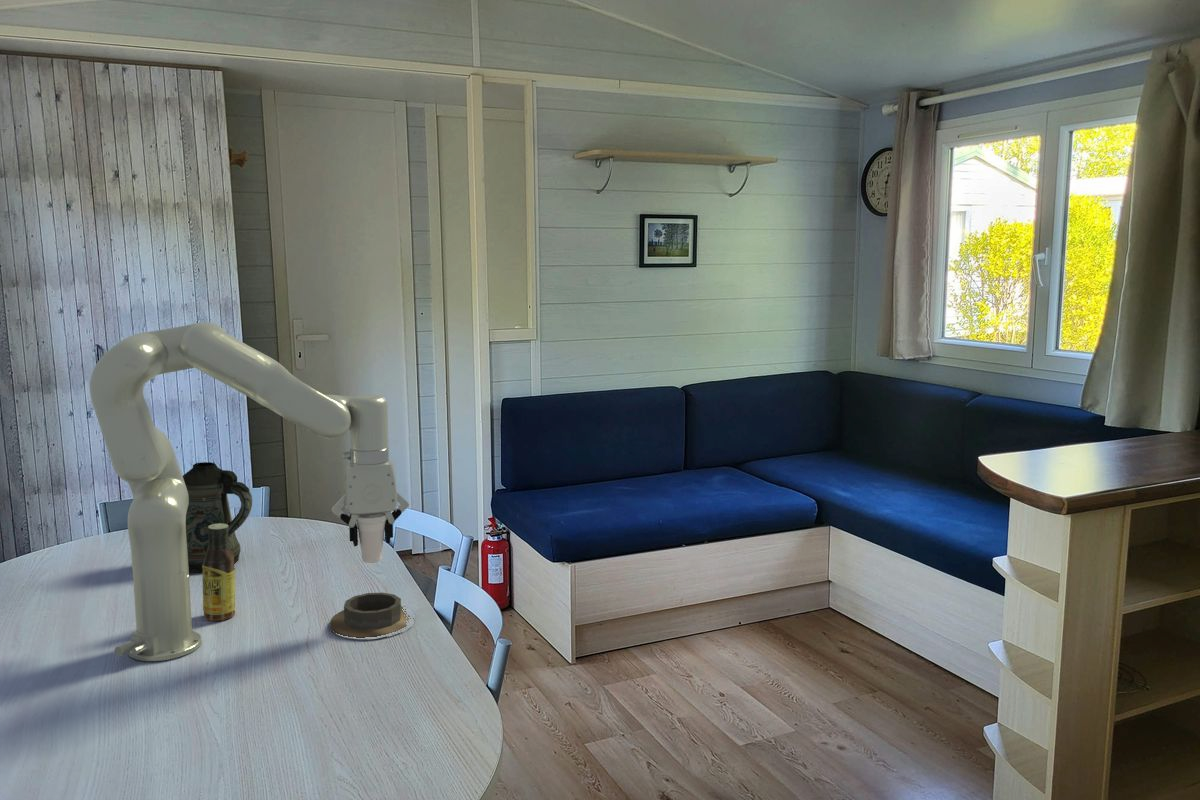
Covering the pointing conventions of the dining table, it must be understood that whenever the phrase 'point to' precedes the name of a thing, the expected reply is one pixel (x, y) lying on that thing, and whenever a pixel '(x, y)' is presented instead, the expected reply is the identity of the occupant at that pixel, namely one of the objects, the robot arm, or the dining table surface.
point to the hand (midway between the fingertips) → (371, 542)
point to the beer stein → (212, 509)
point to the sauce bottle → (218, 575)
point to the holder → (370, 616)
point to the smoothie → (371, 536)
